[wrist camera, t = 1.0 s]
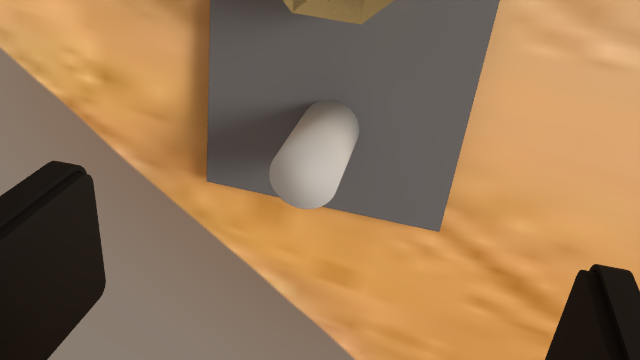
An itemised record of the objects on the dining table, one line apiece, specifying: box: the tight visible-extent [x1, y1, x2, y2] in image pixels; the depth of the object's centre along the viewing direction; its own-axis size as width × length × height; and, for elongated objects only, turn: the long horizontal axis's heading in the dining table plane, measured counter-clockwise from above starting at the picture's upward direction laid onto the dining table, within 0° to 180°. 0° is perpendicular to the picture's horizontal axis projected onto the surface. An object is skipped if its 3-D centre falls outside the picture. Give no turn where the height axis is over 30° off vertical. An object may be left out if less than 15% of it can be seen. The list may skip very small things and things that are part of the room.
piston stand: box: [207, 0, 500, 232], centre depth 27 cm, size 20×14×7 cm
